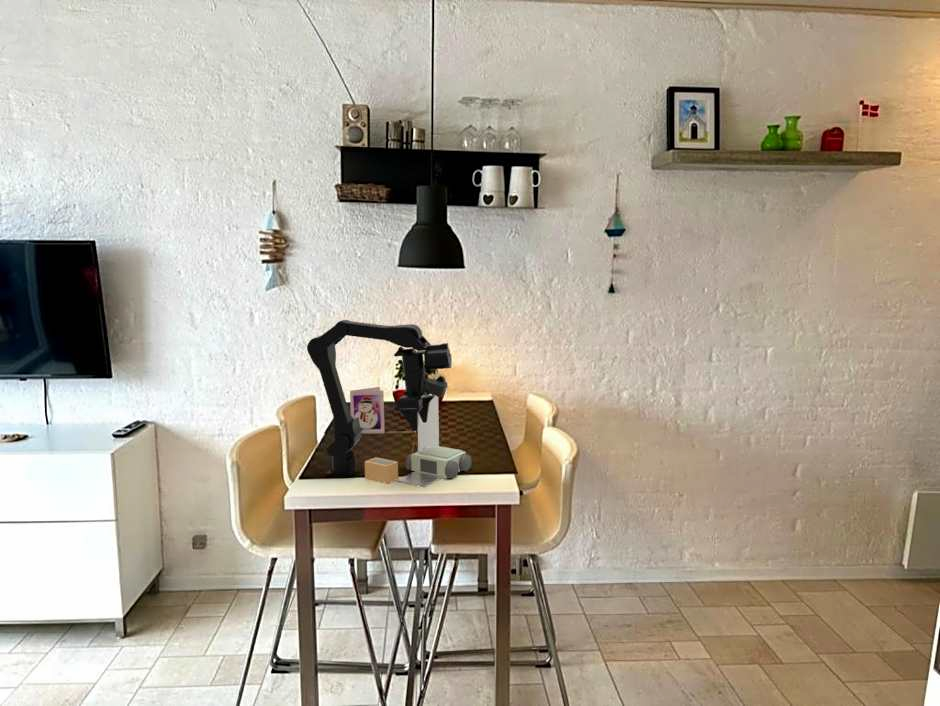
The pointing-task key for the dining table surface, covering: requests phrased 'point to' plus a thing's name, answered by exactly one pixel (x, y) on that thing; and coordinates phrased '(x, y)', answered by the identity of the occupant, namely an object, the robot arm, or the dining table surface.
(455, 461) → the mower deck
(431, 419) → the milk
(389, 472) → the block
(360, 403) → the greeting card
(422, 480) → the mounting plate
